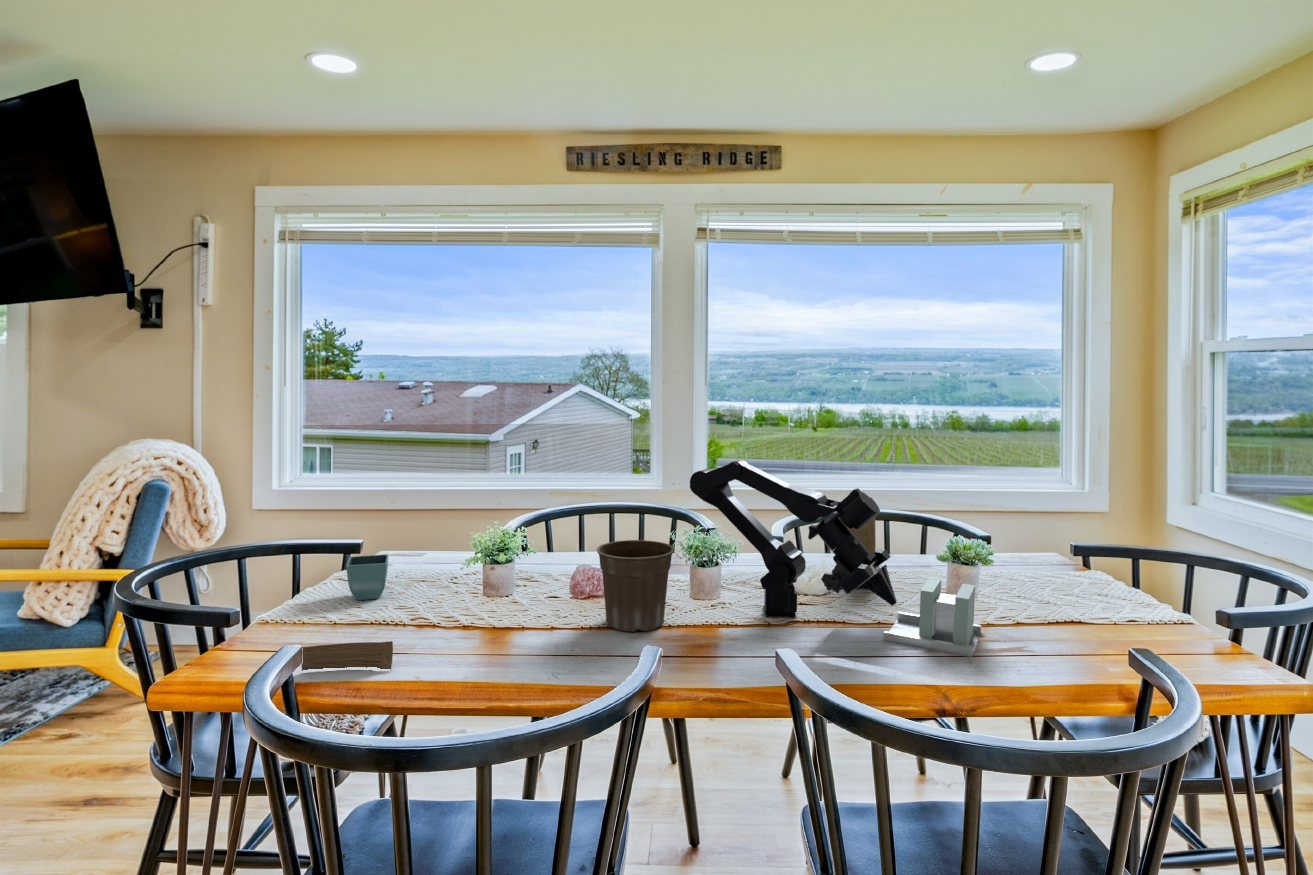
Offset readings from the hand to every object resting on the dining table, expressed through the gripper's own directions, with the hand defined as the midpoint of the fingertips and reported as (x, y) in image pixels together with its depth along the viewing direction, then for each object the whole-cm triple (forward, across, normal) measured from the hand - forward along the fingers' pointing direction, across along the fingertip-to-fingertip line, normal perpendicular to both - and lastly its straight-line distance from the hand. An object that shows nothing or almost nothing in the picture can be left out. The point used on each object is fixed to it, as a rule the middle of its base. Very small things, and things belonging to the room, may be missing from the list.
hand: (894, 603), depth 144 cm
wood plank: (-50, +68, -62) cm, 105 cm away
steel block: (+11, 0, +4) cm, 11 cm away
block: (-6, -31, -16) cm, 36 cm away
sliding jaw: (+8, 0, +2) cm, 9 cm away
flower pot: (-73, +38, -85) cm, 118 cm away
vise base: (+10, 0, +1) cm, 10 cm away
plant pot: (-29, +21, -39) cm, 53 cm away
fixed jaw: (+13, 0, +6) cm, 14 cm away
